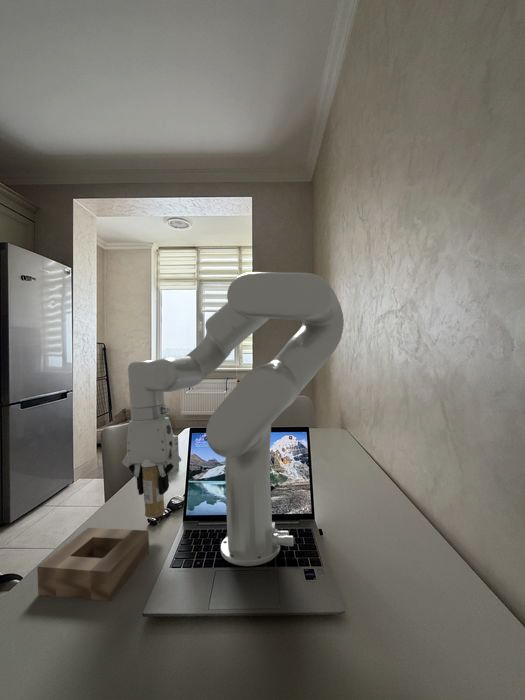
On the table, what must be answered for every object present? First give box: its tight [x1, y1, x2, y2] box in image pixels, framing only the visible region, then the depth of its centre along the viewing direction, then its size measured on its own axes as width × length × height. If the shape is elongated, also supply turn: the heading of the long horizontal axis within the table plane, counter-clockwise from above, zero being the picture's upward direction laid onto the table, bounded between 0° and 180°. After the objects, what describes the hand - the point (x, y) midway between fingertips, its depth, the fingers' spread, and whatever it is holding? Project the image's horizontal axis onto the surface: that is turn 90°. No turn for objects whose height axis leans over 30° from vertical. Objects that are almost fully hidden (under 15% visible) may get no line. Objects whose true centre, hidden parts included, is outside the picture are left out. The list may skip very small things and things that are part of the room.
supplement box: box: [168, 434, 180, 475], centre depth 128 cm, size 7×7×13 cm
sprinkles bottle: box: [141, 460, 166, 519], centre depth 82 cm, size 5×5×14 cm
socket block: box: [36, 527, 150, 602], centre depth 69 cm, size 14×14×5 cm
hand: (153, 491), depth 82 cm, fingers closed on sprinkles bottle, 4 cm apart
